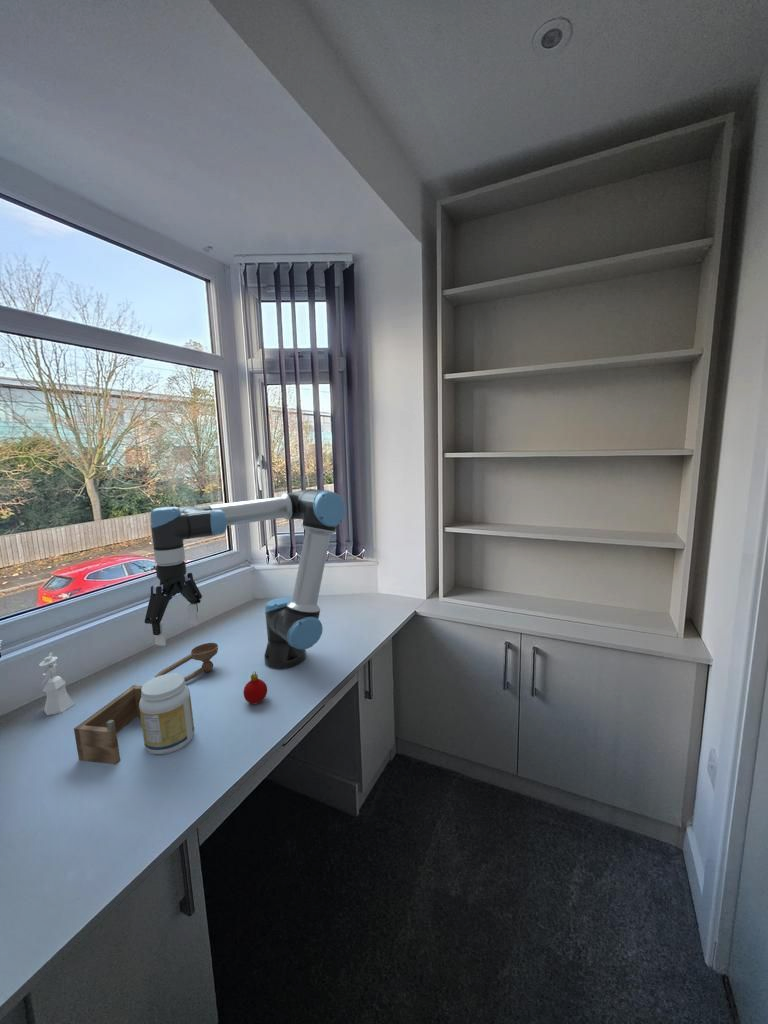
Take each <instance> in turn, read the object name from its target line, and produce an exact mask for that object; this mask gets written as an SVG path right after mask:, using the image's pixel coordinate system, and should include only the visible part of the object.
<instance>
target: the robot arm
mask: <svg viewBox="0 0 768 1024" xmlns="http://www.w3.org/2000/svg"><path fill="white" fill-rule="evenodd" d="M346 507H347V506H346V503H345V501H344V500H343V498H342V497H341V496H340V495H339V494H338V493H337V492H334V491H330V490H326V489H315V488H307V489H303V490H302V489H301V490H296V491H293V492H292V491H291V492H284V493H282V494H281V495H280V496H275V497H269V498H268V497H267V498H257V499H250V500H249V499H248V500H242V501H233V502H226V503H225V502H224V503H215V504H208V505H200V506H194V505H189V506H185V507H183V508H181V509H180V508H179V507H177V506H164V507H156V508H153V509H152V510H151V511H150V529H151V536H152V537H151V538H152V539H151V540H152V545H153V554H154V561H155V564H156V566H155V572H156V578H157V579H159V585H151V586H150V597H149V600H148V606H147V609H146V614H145V618H144V624H147V625H151V628H152V634H153V636H154V642H155V646H161V647H162V646H163V647H165V646H166V645H167V642H166V641H167V640H166V632H165V624H164V621H162V620H163V617H164V615H165V613H166V610H167V607H168V605H169V602H170V600H172V598H173V597H175V596H177V595H178V594H181V596H182V597H184V599H186V601H187V602H189V603H187V605H186V606H187V615H188V625H189V626H198V625H199V615H198V612H199V606H198V604H201V603H202V602H201V600H202V598H203V595H202V593H201V591H200V590H199V588H198V586H197V584H196V582H195V579H194V577H193V576H194V575H193V573H192V572H187V564H186V561H185V560H186V555H185V554H186V553H185V545H184V540H190V539H197V538H198V539H199V538H205V537H215V536H219V535H223V534H225V533H226V531H227V529H228V528H227V527H228V526H235V525H242V524H249V523H256V522H261V521H269V520H277V519H282V518H283V519H285V520H286V521H288V520H302V526H301V527H302V528H303V530H304V531H305V532H304V533H305V534H304V538H303V543H302V548H301V552H300V560H299V565H298V570H297V573H296V579H295V584H294V587H293V593H292V596H285V597H284V596H283V597H282V596H281V597H278V598H274V599H271V600H269V601H267V602H266V603H265V606H264V607H265V609H264V610H265V611H264V613H265V622H266V623H265V624H266V635H267V644H266V646H265V647H266V648H265V652H264V656H263V659H264V664H265V665H266V667H269V668H272V669H278V670H280V669H289V668H293V667H295V666H299V665H300V664H301V663H302V662H304V660H306V658H307V652H306V650H308V649H310V648H312V647H313V646H314V645H315V644H317V643H318V642H319V640H320V639H321V637H322V634H323V630H324V629H323V624H322V622H321V620H320V619H319V618H320V613H321V608H320V606H319V605H318V600H319V596H320V590H321V587H322V586H321V584H322V580H323V575H324V570H325V566H326V561H327V554H328V551H329V550H328V549H329V544H330V539H331V536H332V535H334V534H335V533H336V531H337V526H338V525H340V524H341V522H343V520H344V519H345V517H346V516H345V515H346V513H347V512H346V510H347V509H346Z"/></svg>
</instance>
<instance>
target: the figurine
mask: <svg viewBox="0 0 768 1024" xmlns="http://www.w3.org/2000/svg"><path fill="white" fill-rule="evenodd" d="M48 653H49V654H48V655H47V656H46V657H44V659H43V660H42V661H41V662H40V663H39V664H38V665H39V666H40V667H43V666H44V667H46V668H45V670H44V673H42V676H45V678H44V679H43V680H42V682H41V686H44V684H45V682H46V684H45V686H44V687H43V689H42V692H43V693H46V694H45V695H46V699H45V705H44V708H43V711H44V713H45V714H46V716H50V715H51V714H52V715H56V714H57V713H58V714H62V713H63V712H65V711H66V710H68V709H69V708H71V707H73V706H75V703H74V701H73V699H72V698H71V697H70V695H69V693H68V692H67V688H66V683H67V682H66V681H65V679H63V678H62V677H61V676H60V675H55V674H56V673H57V670H58V664H57V661H56V660H57V659H58V656H53V654H54V652H48ZM61 712H62V713H61Z"/></svg>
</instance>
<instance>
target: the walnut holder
mask: <svg viewBox="0 0 768 1024" xmlns="http://www.w3.org/2000/svg"><path fill="white" fill-rule="evenodd" d="M142 687H143V685H132V686H130V687H129V688H128V689H126V690H125V691H124V692H122V693H120V694H119V695H117V697H115V698H113V699H112V700H111V701H109V702H108V703H107V704H105V705H104V706H103V707H102V708H101V707H100V709H98V710H97V711H96V712H94V713H93V714H92V715H90V716H89V717H88V718H86V719H85V720H83V721H82V722H81V723H80V724H78V725H77V726H75V727H74V728H73V732H74V738H75V744H76V745H75V746H76V751H77V755H78V756H77V757H78V761H81V762H90V763H98V764H99V763H100V764H107V765H115V766H117V764H118V763H120V761H121V753H120V748H119V740H118V733H119V732H121V731H122V730H123V729H124V728H125V727H127V726H128V725H129V724H130V723H132V721H134V719H136V718H137V717H141V715H140V708H139V702H140V699H141V698H142V697H141V693H142V692H141V689H142Z"/></svg>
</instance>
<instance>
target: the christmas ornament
mask: <svg viewBox="0 0 768 1024" xmlns="http://www.w3.org/2000/svg"><path fill="white" fill-rule="evenodd" d="M242 693H243V697H244V699H245V701H246V702H248V703H250V704H252V705H253V704H254V705H255V704H258V703H259V704H260V703H261V702H262V701H264V699H265V698H266V697H267V694H268V686H267V684H266V683H265V681H264V680H262V679H260V678H258V674H257V672H256V671H253V672H252V673H251V676H250V680H249V681H248V682H247V683H246V684H245V686H244V688H243V692H242Z"/></svg>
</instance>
